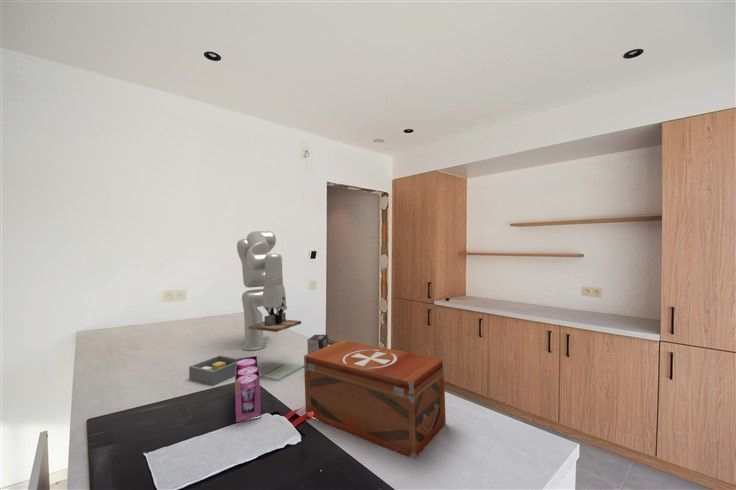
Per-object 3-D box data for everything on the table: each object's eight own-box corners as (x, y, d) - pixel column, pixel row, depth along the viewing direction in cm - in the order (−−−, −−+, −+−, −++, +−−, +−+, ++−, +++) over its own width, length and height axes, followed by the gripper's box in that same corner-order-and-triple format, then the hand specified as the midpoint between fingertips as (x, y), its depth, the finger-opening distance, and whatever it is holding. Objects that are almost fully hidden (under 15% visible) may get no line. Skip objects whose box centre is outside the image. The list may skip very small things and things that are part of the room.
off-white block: (206, 375, 145) (205, 366, 145) (212, 376, 143) (212, 367, 143) (197, 378, 141) (197, 369, 141) (204, 380, 139) (203, 370, 139)
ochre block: (219, 370, 150) (219, 361, 150) (226, 371, 148) (225, 362, 148) (212, 373, 147) (211, 364, 147) (218, 374, 145) (217, 365, 145)
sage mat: (276, 361, 162) (276, 360, 162) (304, 366, 154) (304, 365, 154) (248, 374, 147) (248, 373, 147) (278, 380, 139) (278, 379, 139)
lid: (274, 322, 161) (274, 310, 161) (301, 324, 153) (300, 312, 153) (248, 330, 147) (248, 316, 147) (276, 333, 139) (276, 319, 139)
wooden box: (345, 392, 127) (343, 339, 127) (447, 424, 103) (445, 359, 103) (304, 416, 110) (302, 355, 110) (415, 460, 86) (413, 383, 86)
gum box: (261, 420, 109) (260, 378, 108) (235, 425, 106) (233, 382, 106) (258, 390, 131) (257, 355, 131) (236, 393, 128) (235, 358, 128)
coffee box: (322, 379, 140) (321, 340, 139) (307, 378, 141) (306, 339, 141) (329, 370, 148) (328, 334, 148) (315, 370, 150) (314, 333, 150)
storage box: (220, 369, 154) (219, 355, 154) (243, 374, 147) (243, 359, 147) (189, 382, 141) (189, 366, 141) (213, 388, 134) (213, 372, 134)
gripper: (254, 282, 150) (255, 323, 151) (282, 283, 143) (283, 326, 143) (266, 280, 157) (268, 320, 157) (294, 281, 149) (295, 322, 150)
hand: (275, 322), depth 150 cm, fingers closed on lid, 3 cm apart
